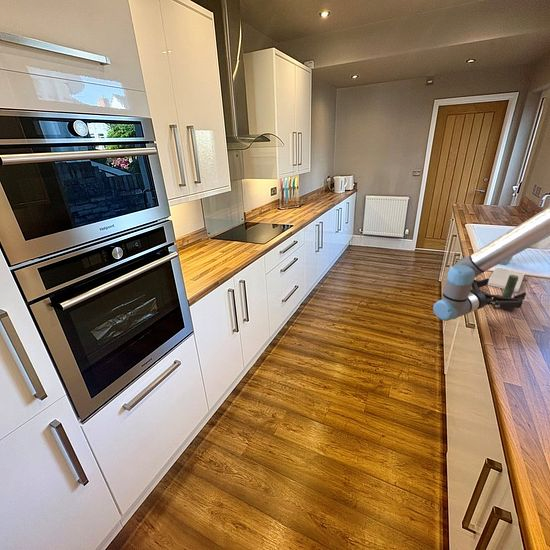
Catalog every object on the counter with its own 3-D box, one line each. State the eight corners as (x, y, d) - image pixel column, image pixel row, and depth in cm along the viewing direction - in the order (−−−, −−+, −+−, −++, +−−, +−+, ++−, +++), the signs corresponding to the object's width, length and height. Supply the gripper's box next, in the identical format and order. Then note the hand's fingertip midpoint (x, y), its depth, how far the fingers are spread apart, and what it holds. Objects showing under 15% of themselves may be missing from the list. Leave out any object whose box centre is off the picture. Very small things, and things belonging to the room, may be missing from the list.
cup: (512, 266, 156) (518, 248, 151) (495, 264, 158) (500, 247, 154) (507, 260, 162) (513, 243, 158) (491, 259, 165) (496, 242, 160)
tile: (523, 275, 145) (524, 273, 144) (517, 292, 131) (519, 289, 130) (494, 269, 152) (495, 267, 152) (486, 284, 138) (487, 281, 137)
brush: (514, 306, 120) (526, 276, 114) (512, 311, 117) (524, 281, 111) (494, 301, 125) (504, 271, 118) (491, 306, 121) (502, 276, 115)
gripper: (437, 295, 120) (471, 284, 127) (502, 327, 99) (537, 311, 107) (441, 279, 116) (476, 268, 124) (509, 308, 96) (545, 293, 104)
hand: (504, 288), depth 115 cm, fingers open, 13 cm apart
